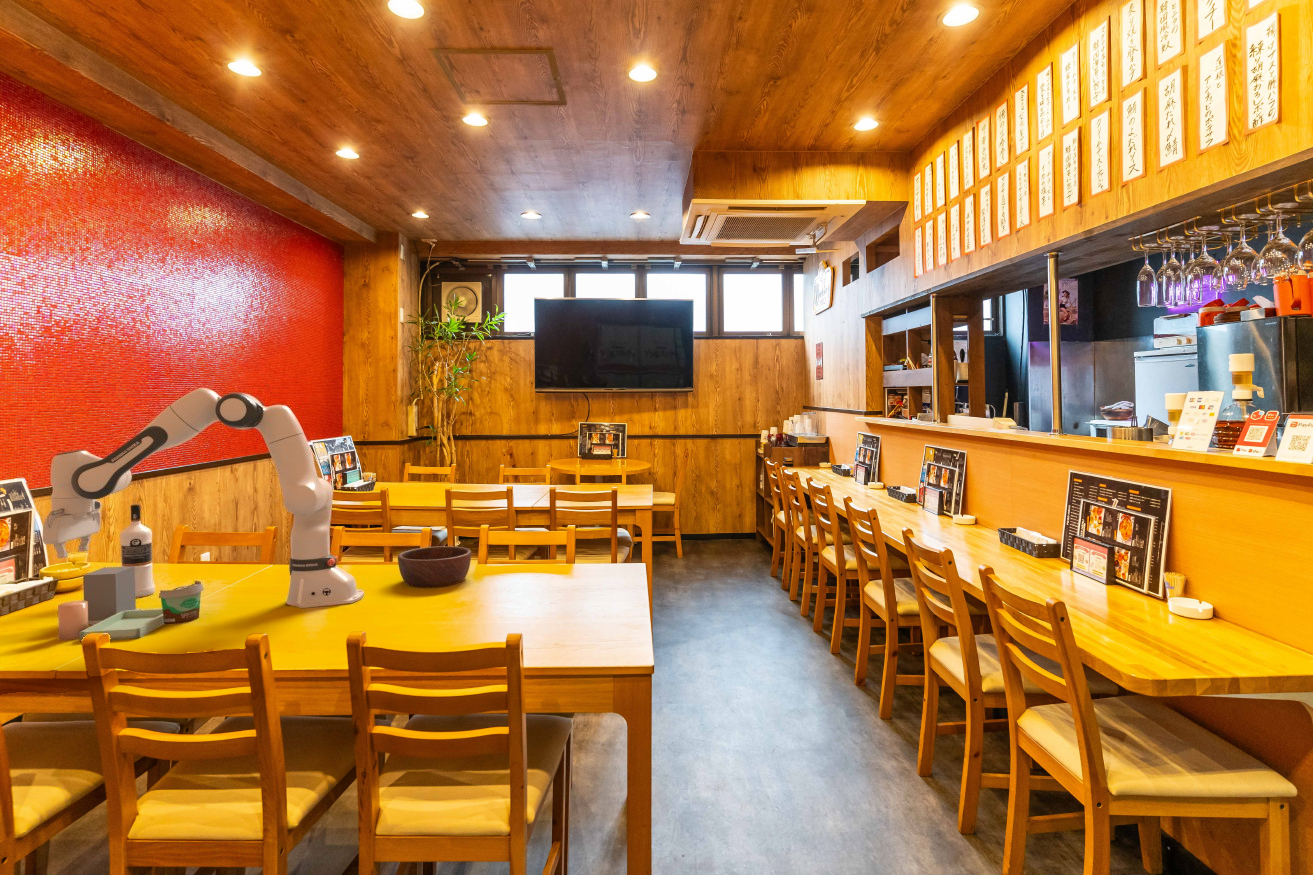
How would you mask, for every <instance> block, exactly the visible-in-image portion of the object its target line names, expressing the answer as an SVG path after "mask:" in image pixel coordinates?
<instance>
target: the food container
mask: <svg viewBox="0 0 1313 875" xmlns="http://www.w3.org/2000/svg"><path fill="white" fill-rule="evenodd" d="M204 589H205V588H204V585H203V583H202V581H199V580H194V583H192V584H190V585H184V586H178V587H176V588H174V589H171V590H170V589H169V590H166V589H165V590H161V589H160V591H159V594H158V599H160V601H161V602H160V603H161V609H162V610H163V618H164V624H163V625H165V626H166V625H171V626H172V625H178V624H179V625H181V624H185V623H190V622H194V621H196V620H198V619H199V618H200V611H201V610H200V609H201V596H202V592H203V591H204Z"/></svg>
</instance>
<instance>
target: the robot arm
mask: <svg viewBox="0 0 1313 875" xmlns="http://www.w3.org/2000/svg"><path fill="white" fill-rule="evenodd" d="M216 422H221V423H222V424H223V425H224V426H226V427H229V428H233V429H236V430H253V429H256V430H257V431H258V432H260V434H261V436H262V437H263V440H264V442H265V444H266V447H267V450H268V452H269V454H270V456H271V459H272V462H273V464H274V466H275V468H276V472H277V473H276V474H277V476H278V477H277V478H278V482H279V485H280V489H281V492H282V497H283V498H282V501H283V502H282V503H283V506H284V508H285V509H286V510H287V512H289V513H290V514H292V515H293V522H292V527H291V532H290V557H289V563H288V565H289V568H288V569H289V576H290V582H289V590H288V593H287V598H286V601H285V604H286V605H289V606H294V607H298V608H299V609H307V608H314V607H315V608H316V607H317V608H318V607H325V606H326V607H327V606H335V605H345V604H352V603H353V604H354V603H356V602H358V601H360V600H361V599H362V598H364V596H365V592H364V590H363V589H359V588H358V587H357V582H356V580H355V577H354V576H353V575H352V574H350V573H349V572H347V571H345V570H344V569H342V568H341V567H339V566H337V565H338V564H337V563H338V555H335V556H334V555H332V554H331V552H330V548H331V547H330V546H331V545H330V544H331V543H330V542H331V540H330V539H331V537H330V534H331V532H330V529H331V522H332V521H331V520H332V508H333V497H334V488H333V486H332V484H331V483H330V482H329V481H327V480H326V479H324V478H321V477H318V473H317V470H316V466H315V465H316V464H315V460H314V454H313V452H312V449H311V447H310V445H309V442H308V439H307V436H306V435H305V433H304V430H303V428H302V426H301V424H300V422H299V420H298V418H297V417H296V415H295V413H293V411H292V410H291V408H289V407H288V406H287V405H285V404H283V405H282V404H275V405H270V406H265V405H264V403H263V402H262V401H261V400H260V399H258V398H256V397H254V396H253V395H251V394H248V393H243V392H230V393H228V394H224V395H223V396H220V394H218V393H217V392H216V391H214V390H212V389H210V388H206V387H199V388H196V389H195V390H193V391H190V392H188V393H187V394H185V395H184V396H182V397H180V398H178V399H177V400H175V401H174V402H172V403H171V404H170V405H168V406H167V407H166V408H165V409H164V410H162V411H161V412H160V413H159V414H158V415H156V417H154V418H153V419H152V420H151V421H150V422H149V423H148V424H147V425H146V426H145V427H144V428H143V429H142V430H141V431H139V432H138V433H137V434H136V435H135V436H133V438H131V439H129V440H128V441H127V442H125V443H124V444H123V445H121V446H119V447H118V448H117V449H115V450H114V451H112V452H111V453H109V454H108V455H106V456H105V457H104V458H102V457H100V456H96V455H95V454H92V453H90V452H89V451H88V450H83V449H78V450H72V451H71V450H70V451H65V452H59V453H57V454H55V456H53V458H52V460H51V463H50V464H51V465H50V466H51V467H50V484H51V486H52V493H51V496H50V497H51V498H50V503H51V505H50V506H51V508H50V509H51V511H50V512H49V513H48V515H46V518H45V519H44V521H43V527H42V542H43V544H44V545H53V548H54V550H55V551H56V555H57V556H56V557H57V558H58V559H65V558H67V557H68V556H69V553H68V552H69V551H68V550H67V549H66V547H65V546H66V544H67V542H69V541H73V540H77V539H79V540H80V543H79V545H78V548H77V549H78V552H80V553H81V552H87V551H88V550H89V544H90V542H91V539H92V535H94V534H98V533H99V532H100V530H101V527H102V526H101V525H102V524H101V523H102V520H101V519H102V514H101V509H102V505H103V504H102V502H101V501H99V499H103V498H105V497H107V496H109V495H113V494H116V493H117V494H118V493H119V492H121V491H123V490H125V489H126V488H128V487H129V485H131V482H132V480H133V473H132V469H133V468H134V467H135V466H137V465H138V464H140V463H141V462H142V461H144V460H145V459H147V458H148V457H150V456H152V455H153V454H157V453H158V452H161V451H164V450H167V449H170V448H173V447H177V446H180V445H182V444H184V443H186V442H188V441H190V440H191V439H194V438H195V437H196V436H198V435H199V434H200V433H202V432H203V431H204V430H205V429H207V428H208V427H209V426H211V425H212V424H215V423H216ZM357 588H358V589H357Z"/></svg>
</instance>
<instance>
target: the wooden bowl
mask: <svg viewBox="0 0 1313 875" xmlns="http://www.w3.org/2000/svg"><path fill="white" fill-rule="evenodd" d="M471 560H472V551H471V549H469V548H466V547H462V546H450V545H447V546H446V545H445V546H443V545H442V546H441V545H438V546H427V547H420V548H419V547H417V548H413V549H409V550H404V551H402V552H400V553H399V554H398V555H397V562H398V568H399V574H400V575H401V576H400V577H401V578H402V581H404V583H405V584H406V585H407V586H410V587H412V588H413V587H415V588H440V587H447V586H448V587H449V586H453V585H455V584H459V583H460V582H462V581H463V580H465V578H466V576H467V575H468V573H469V570H470V565H471Z"/></svg>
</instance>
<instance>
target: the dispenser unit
mask: <svg viewBox="0 0 1313 875" xmlns="http://www.w3.org/2000/svg"><path fill="white" fill-rule="evenodd" d="M82 582H83V584H82V585H83V586H82V587H83V601H88V626H90V625H91V626H93V625H95V624H97V623H99V622H101V621H103V620H105V619H107V618H109V617H111V616H113V615H115V614H117V613H119V612H121V611H126V610H142V608H136V607H137V606H136V599H137V598H135V566H126V567H121V566H110V567H109V566H108V567H107V566H105V567H102V568H99V569H97V570H94V571H91V572H87V573H85V574H83V575H82ZM124 618H125V617H124ZM124 618H122V619H124ZM122 619H120V620H122ZM120 620H119V621H120Z"/></svg>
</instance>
